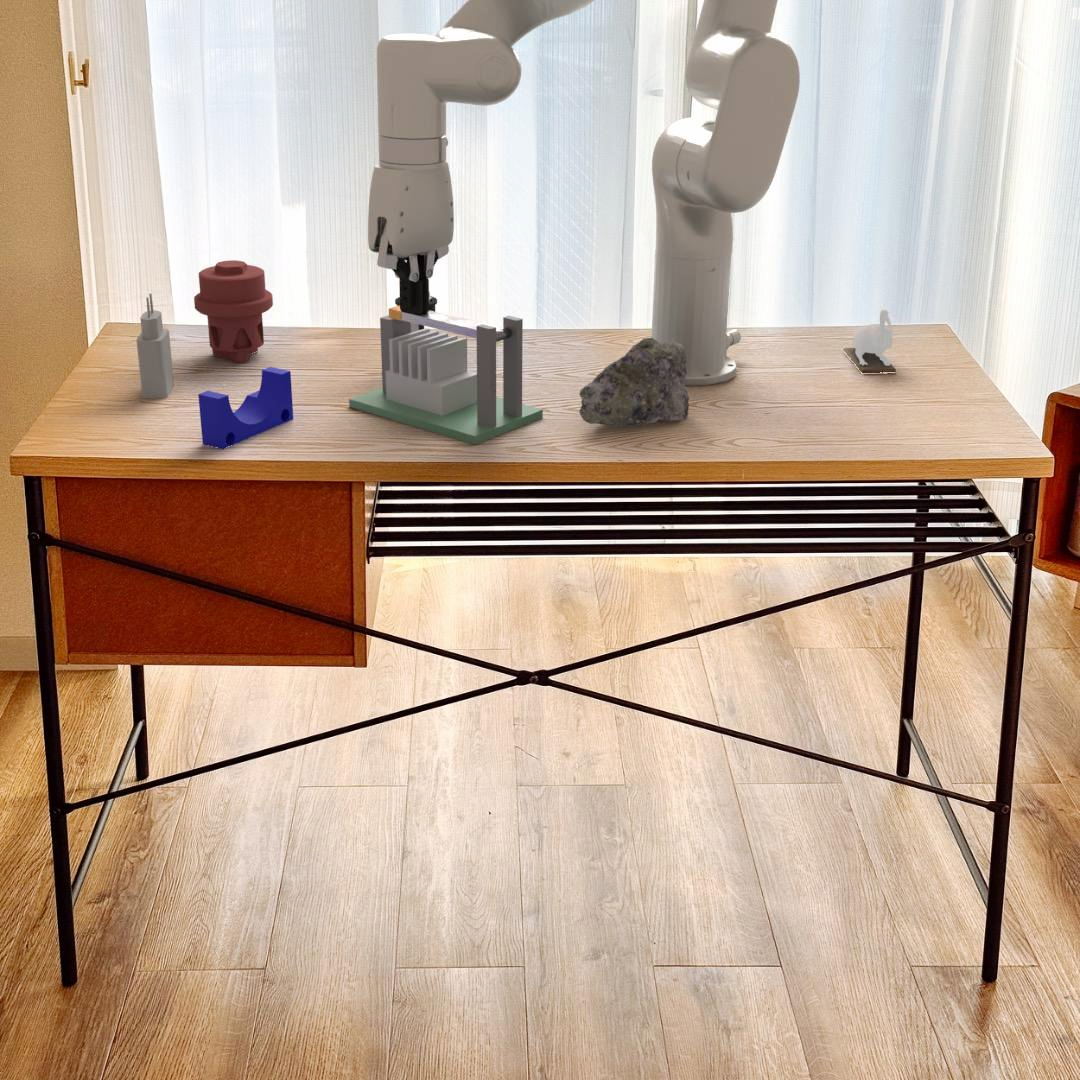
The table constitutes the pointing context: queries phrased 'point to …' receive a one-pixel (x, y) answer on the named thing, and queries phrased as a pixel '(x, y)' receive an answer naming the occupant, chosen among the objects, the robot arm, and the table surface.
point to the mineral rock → (639, 387)
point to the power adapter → (154, 355)
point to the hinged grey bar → (447, 323)
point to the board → (449, 382)
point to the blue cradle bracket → (246, 411)
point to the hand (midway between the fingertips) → (414, 311)
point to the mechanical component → (233, 308)
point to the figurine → (872, 346)
